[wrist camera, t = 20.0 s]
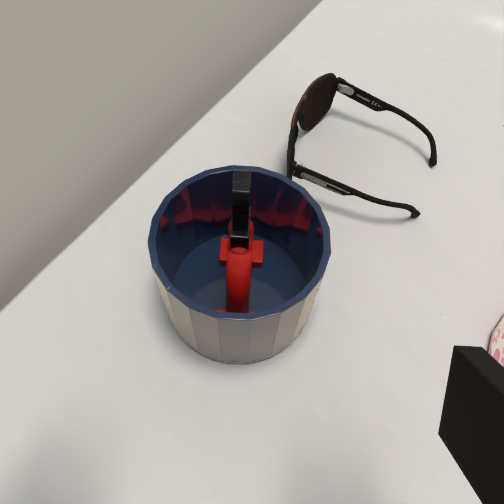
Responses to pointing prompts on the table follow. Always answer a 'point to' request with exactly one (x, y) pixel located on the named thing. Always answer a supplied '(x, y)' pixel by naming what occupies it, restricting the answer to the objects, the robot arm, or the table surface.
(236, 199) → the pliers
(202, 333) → the pen cup
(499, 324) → the teacup
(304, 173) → the sunglasses
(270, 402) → the table surface
